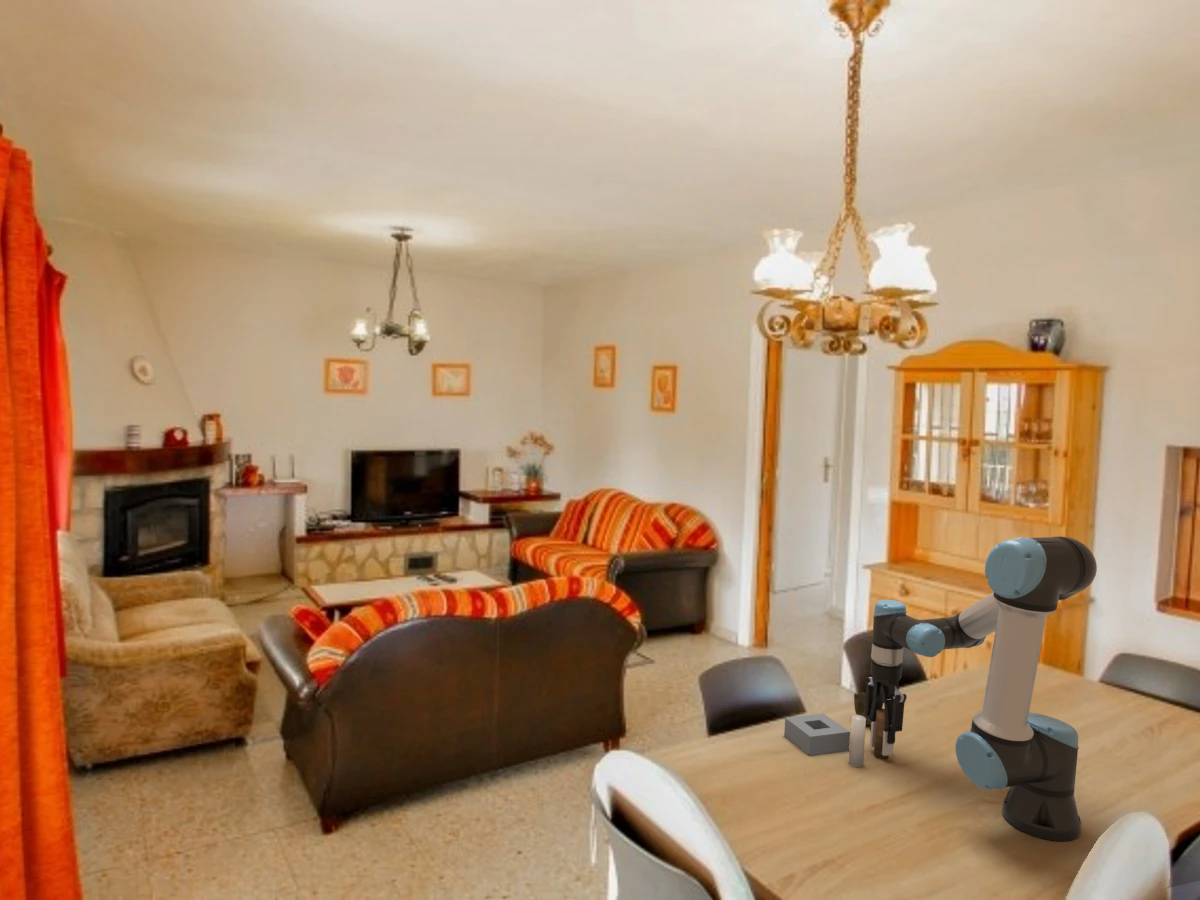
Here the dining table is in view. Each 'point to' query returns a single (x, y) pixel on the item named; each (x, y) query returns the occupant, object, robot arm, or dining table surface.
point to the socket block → (817, 734)
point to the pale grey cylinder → (857, 740)
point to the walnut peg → (879, 733)
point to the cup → (861, 706)
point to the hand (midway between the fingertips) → (881, 750)
